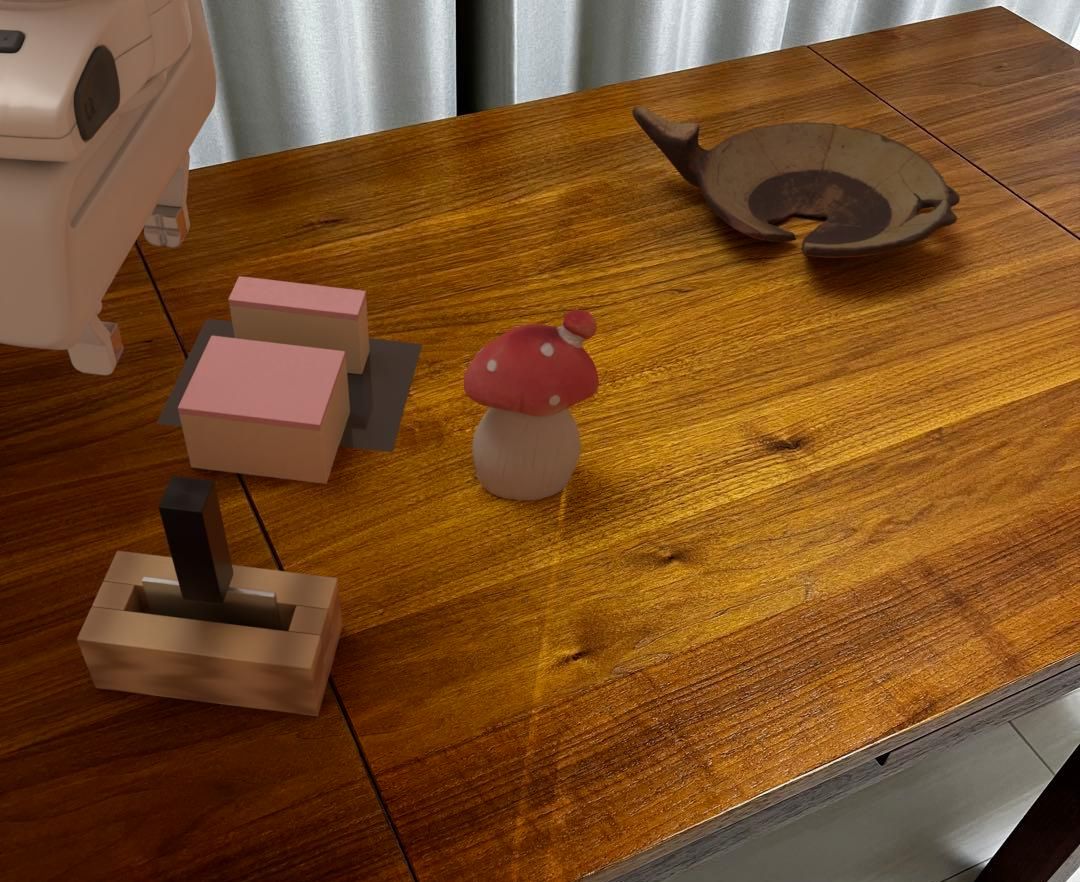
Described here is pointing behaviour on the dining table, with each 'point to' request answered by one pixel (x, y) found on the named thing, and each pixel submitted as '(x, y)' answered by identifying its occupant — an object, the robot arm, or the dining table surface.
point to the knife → (203, 564)
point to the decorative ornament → (531, 406)
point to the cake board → (370, 393)
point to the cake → (266, 409)
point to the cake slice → (302, 317)
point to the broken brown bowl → (812, 183)
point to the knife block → (214, 641)
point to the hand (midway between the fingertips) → (136, 297)
